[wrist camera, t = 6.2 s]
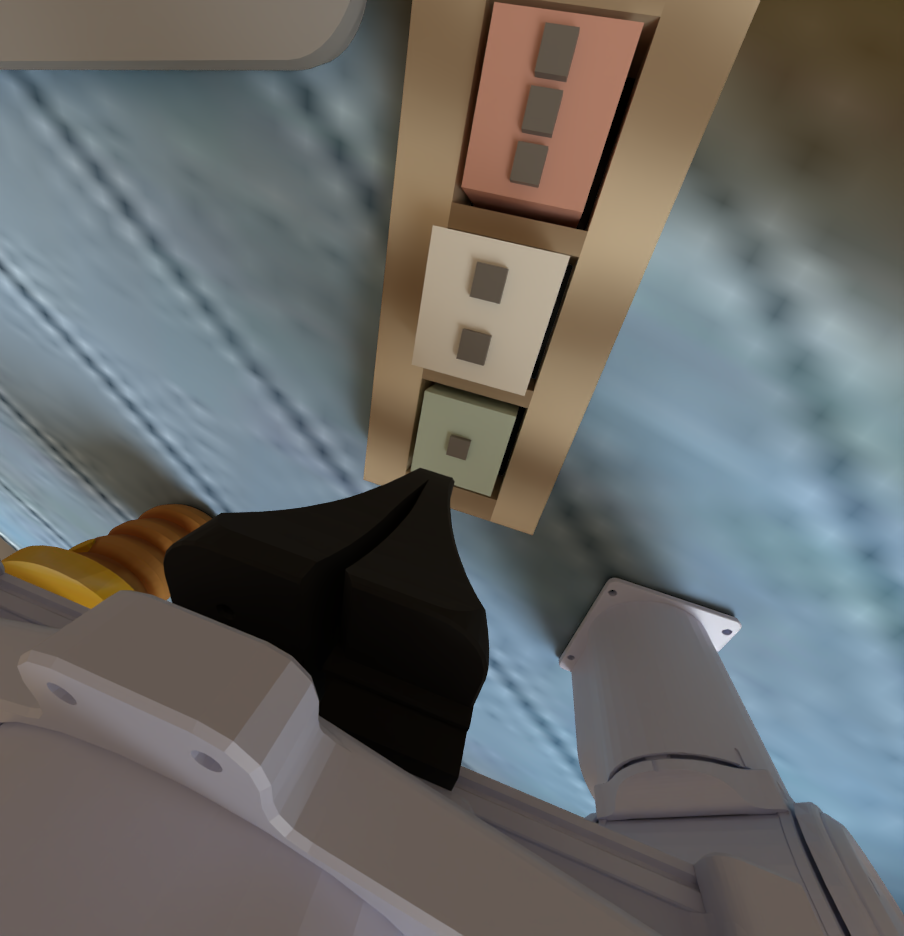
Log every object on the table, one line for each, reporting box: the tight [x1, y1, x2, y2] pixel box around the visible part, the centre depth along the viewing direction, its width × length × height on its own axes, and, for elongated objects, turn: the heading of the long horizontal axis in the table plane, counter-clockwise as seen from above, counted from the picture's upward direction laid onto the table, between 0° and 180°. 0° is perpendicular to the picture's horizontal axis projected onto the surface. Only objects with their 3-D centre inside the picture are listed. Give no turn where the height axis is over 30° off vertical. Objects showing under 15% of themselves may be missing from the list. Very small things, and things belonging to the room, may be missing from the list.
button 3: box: [461, 2, 644, 229], centre depth 12 cm, size 4×4×3 cm
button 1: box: [411, 383, 519, 496], centre depth 18 cm, size 4×4×3 cm
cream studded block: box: [412, 225, 570, 396], centre depth 13 cm, size 4×4×3 cm
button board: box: [364, 0, 760, 535], centre depth 15 cm, size 20×10×3 cm, turn 167°
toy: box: [1, 504, 212, 609], centre depth 20 cm, size 9×24×15 cm
